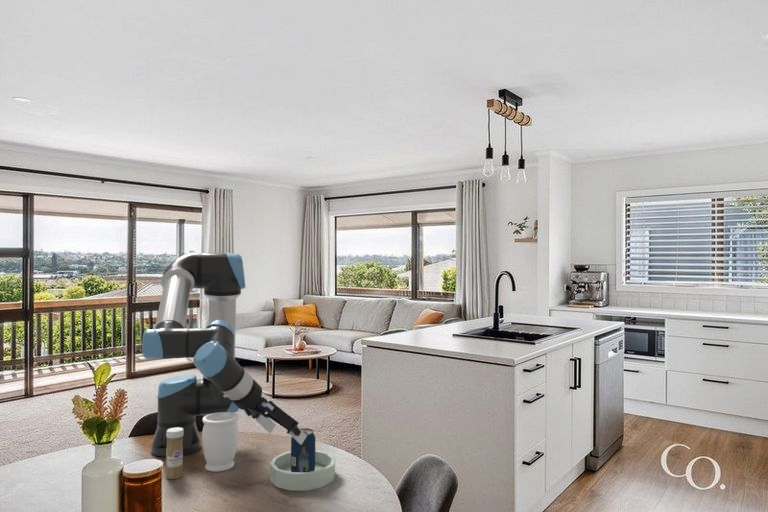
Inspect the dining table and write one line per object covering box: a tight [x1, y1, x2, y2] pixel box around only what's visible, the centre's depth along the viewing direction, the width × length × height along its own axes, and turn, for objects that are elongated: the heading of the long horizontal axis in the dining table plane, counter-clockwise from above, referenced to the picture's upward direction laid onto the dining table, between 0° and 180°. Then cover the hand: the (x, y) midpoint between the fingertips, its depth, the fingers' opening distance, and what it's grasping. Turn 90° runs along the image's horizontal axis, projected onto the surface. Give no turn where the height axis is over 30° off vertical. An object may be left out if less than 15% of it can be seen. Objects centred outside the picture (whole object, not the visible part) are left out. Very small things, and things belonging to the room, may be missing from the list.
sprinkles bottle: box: [165, 427, 184, 480], centre depth 148 cm, size 5×5×14 cm
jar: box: [201, 412, 239, 473], centre depth 156 cm, size 11×10×15 cm
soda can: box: [290, 428, 316, 472], centre depth 149 cm, size 7×7×12 cm
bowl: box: [269, 449, 336, 492], centre depth 149 cm, size 18×18×4 cm
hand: (287, 434), depth 144 cm, fingers open, 13 cm apart
